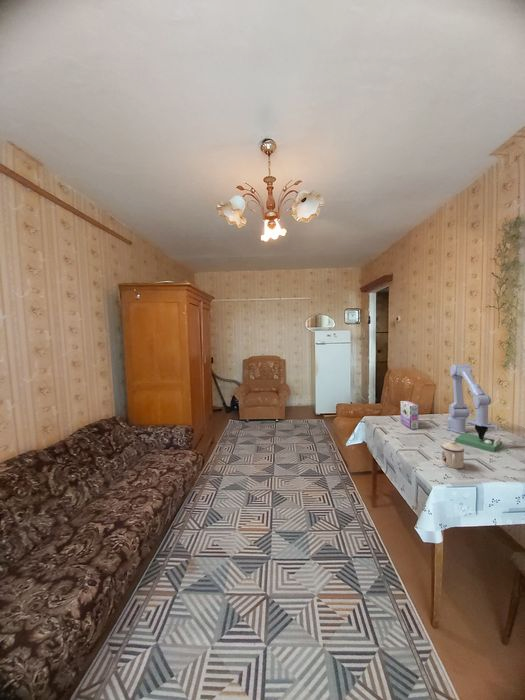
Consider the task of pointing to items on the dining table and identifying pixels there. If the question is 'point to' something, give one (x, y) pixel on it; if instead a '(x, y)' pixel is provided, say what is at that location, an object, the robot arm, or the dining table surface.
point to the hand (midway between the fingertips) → (481, 438)
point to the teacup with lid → (452, 455)
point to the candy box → (409, 414)
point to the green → (479, 442)
